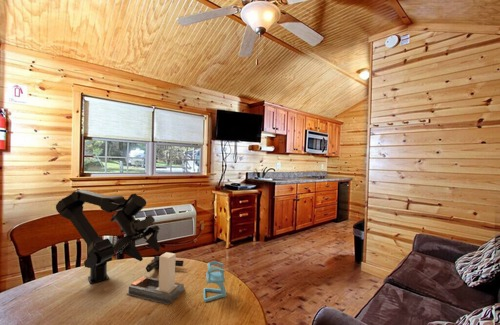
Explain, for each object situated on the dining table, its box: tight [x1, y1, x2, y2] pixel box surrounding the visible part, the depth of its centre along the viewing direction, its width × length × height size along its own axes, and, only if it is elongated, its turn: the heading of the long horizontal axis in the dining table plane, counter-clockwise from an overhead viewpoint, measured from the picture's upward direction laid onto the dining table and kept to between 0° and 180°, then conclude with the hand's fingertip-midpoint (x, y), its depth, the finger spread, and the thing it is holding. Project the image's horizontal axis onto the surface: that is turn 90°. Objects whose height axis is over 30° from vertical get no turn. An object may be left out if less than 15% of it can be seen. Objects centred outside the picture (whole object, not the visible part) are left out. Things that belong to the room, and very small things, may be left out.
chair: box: [203, 260, 227, 303], centre depth 89 cm, size 8×8×12 cm
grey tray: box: [126, 275, 186, 306], centre depth 90 cm, size 18×10×3 cm, turn 73°
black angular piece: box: [145, 251, 184, 273], centre depth 110 cm, size 5×20×15 cm
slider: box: [155, 251, 178, 294], centre depth 88 cm, size 6×5×14 cm
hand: (150, 255), depth 91 cm, fingers open, 9 cm apart
